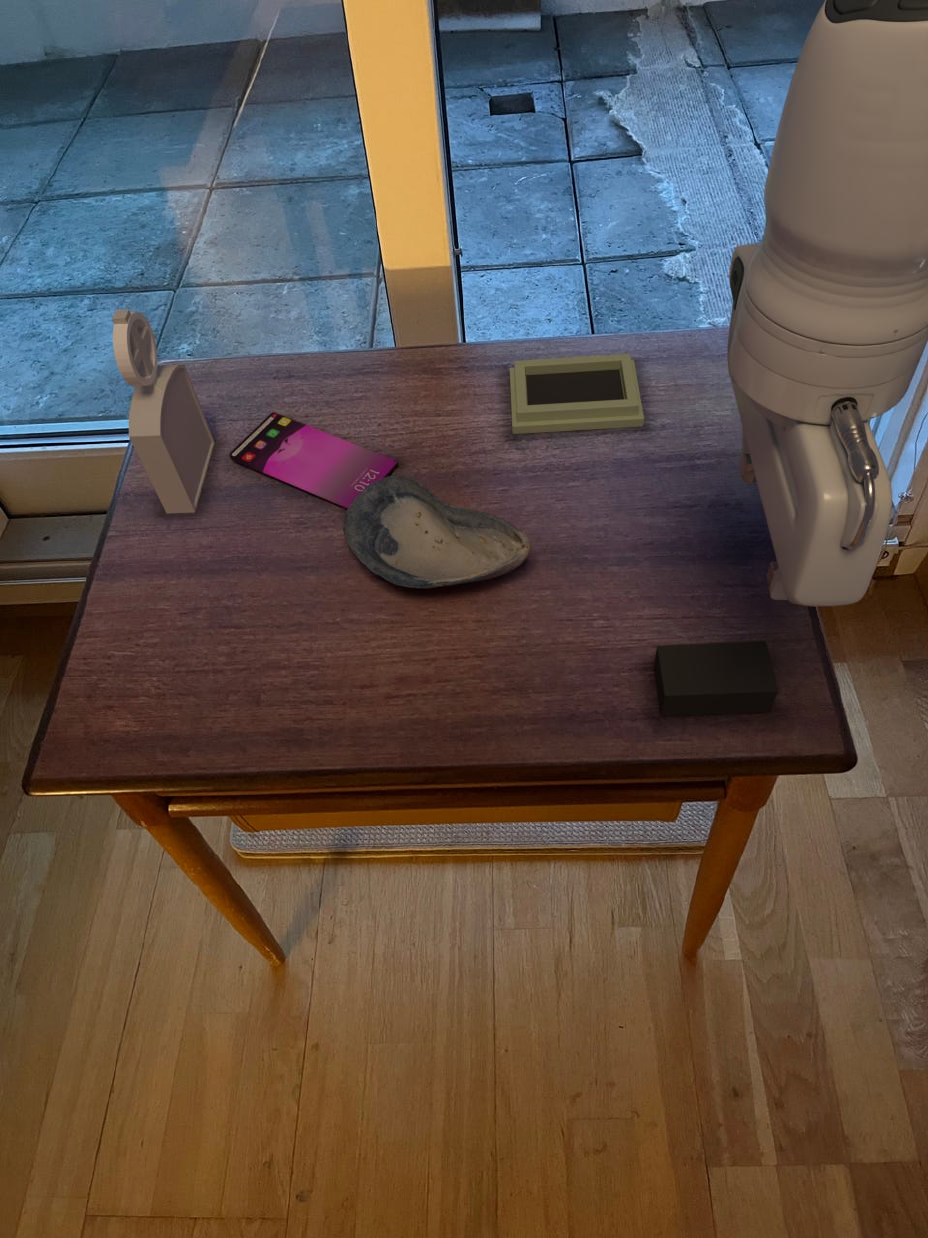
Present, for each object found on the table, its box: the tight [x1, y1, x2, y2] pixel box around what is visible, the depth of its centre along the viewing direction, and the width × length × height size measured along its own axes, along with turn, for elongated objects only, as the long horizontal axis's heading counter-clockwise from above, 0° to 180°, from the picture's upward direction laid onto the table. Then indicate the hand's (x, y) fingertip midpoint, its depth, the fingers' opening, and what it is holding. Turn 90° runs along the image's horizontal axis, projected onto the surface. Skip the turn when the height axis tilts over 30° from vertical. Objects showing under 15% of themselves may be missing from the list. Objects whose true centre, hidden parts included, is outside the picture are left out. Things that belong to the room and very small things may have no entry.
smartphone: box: [228, 411, 399, 510], centre depth 87 cm, size 7×15×1 cm, turn 59°
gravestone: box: [111, 308, 216, 515], centre depth 80 cm, size 3×9×18 cm, turn 178°
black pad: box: [653, 640, 779, 717], centre depth 68 cm, size 8×4×3 cm, turn 90°
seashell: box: [342, 474, 532, 589], centre depth 77 cm, size 15×12×5 cm
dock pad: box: [509, 352, 645, 435], centre depth 89 cm, size 12×9×2 cm
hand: (767, 530), depth 56 cm, fingers open, 8 cm apart
